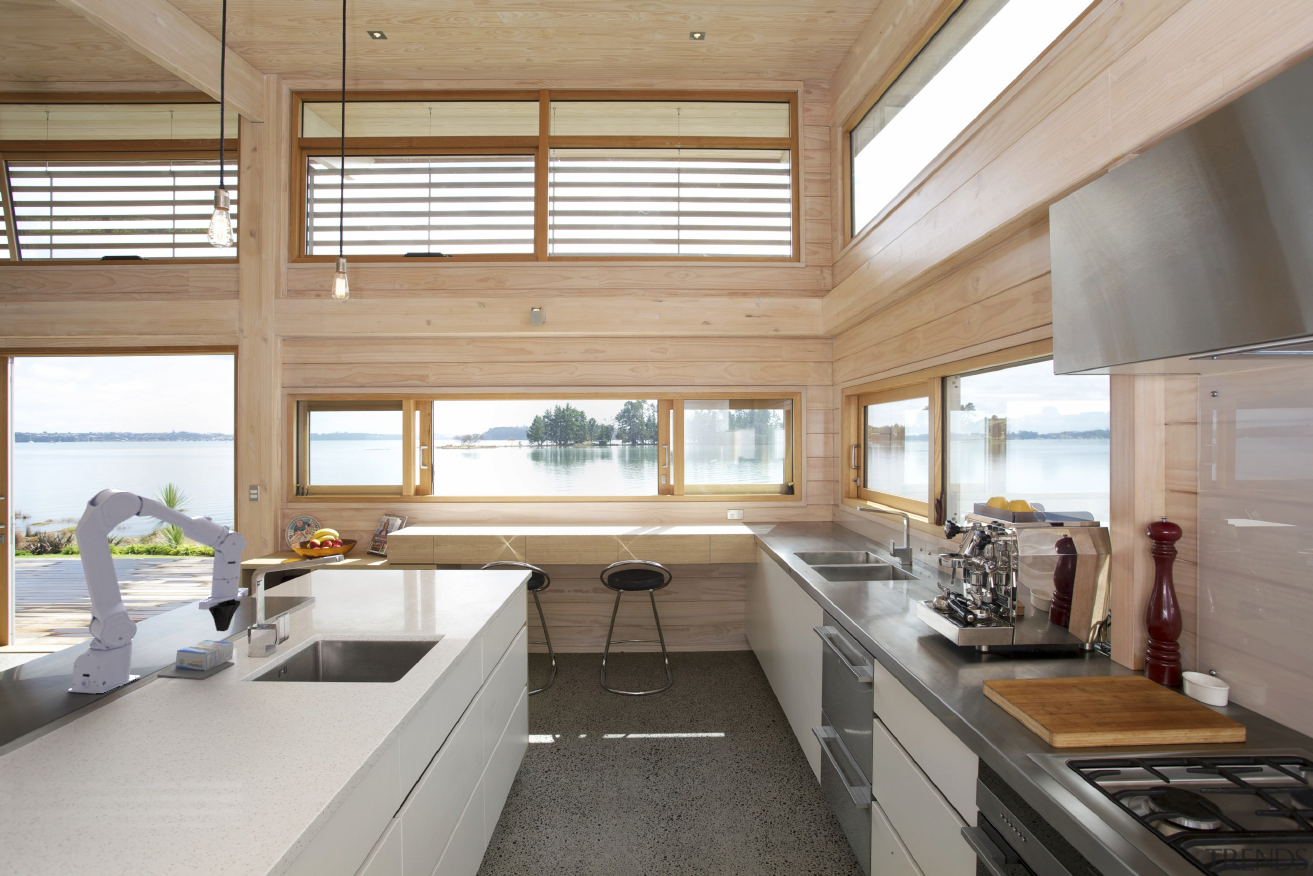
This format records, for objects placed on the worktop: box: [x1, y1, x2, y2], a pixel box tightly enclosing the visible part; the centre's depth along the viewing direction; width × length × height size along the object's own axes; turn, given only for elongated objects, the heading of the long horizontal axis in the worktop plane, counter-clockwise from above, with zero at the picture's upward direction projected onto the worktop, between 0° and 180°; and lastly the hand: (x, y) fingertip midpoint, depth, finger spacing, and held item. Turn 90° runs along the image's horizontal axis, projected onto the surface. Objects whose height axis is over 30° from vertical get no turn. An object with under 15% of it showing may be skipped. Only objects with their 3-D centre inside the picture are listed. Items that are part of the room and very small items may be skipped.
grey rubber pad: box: [156, 661, 235, 680], centre depth 144 cm, size 10×11×1 cm
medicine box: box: [175, 639, 234, 671], centre depth 148 cm, size 8×4×9 cm
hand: (222, 630), depth 152 cm, fingers closed
